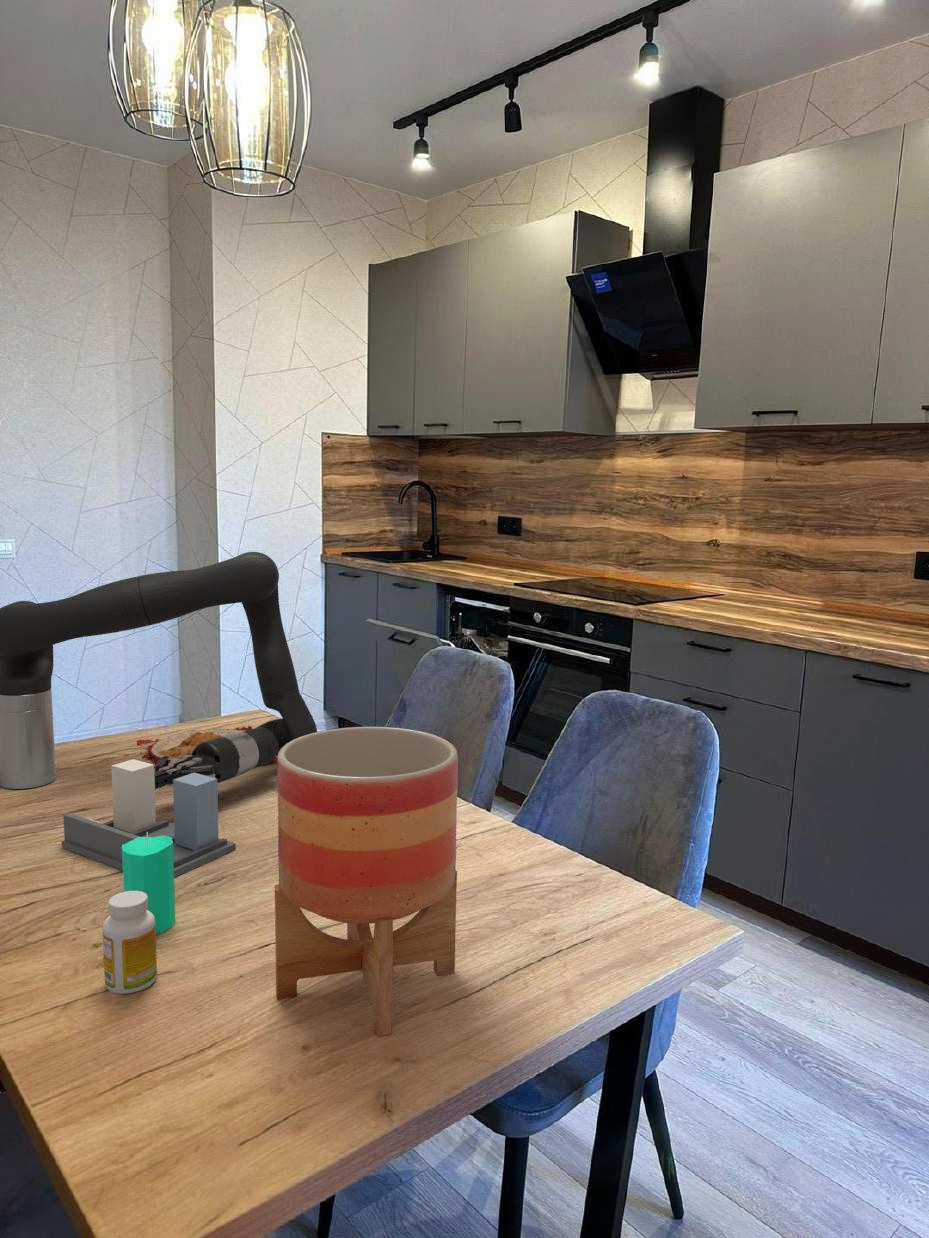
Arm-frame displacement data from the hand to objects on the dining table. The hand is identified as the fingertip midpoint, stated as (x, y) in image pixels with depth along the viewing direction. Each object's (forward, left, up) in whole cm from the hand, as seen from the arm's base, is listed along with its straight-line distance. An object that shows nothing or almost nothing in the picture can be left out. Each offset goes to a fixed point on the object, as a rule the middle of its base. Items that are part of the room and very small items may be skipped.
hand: (144, 784), depth 135 cm
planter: (+53, -25, -8) cm, 59 cm away
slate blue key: (+13, -3, -6) cm, 14 cm away
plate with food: (-17, +37, -8) cm, 42 cm away
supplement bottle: (+29, -35, -8) cm, 46 cm away
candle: (+22, -24, -8) cm, 33 cm away
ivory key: (0, -2, -6) cm, 7 cm away
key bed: (+6, -6, -8) cm, 11 cm away
